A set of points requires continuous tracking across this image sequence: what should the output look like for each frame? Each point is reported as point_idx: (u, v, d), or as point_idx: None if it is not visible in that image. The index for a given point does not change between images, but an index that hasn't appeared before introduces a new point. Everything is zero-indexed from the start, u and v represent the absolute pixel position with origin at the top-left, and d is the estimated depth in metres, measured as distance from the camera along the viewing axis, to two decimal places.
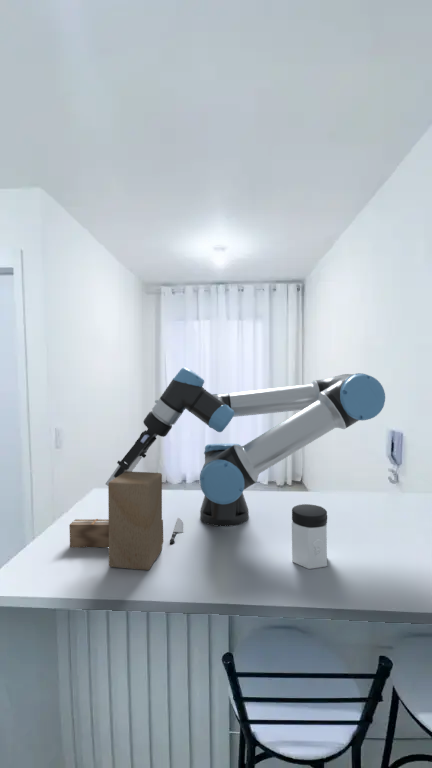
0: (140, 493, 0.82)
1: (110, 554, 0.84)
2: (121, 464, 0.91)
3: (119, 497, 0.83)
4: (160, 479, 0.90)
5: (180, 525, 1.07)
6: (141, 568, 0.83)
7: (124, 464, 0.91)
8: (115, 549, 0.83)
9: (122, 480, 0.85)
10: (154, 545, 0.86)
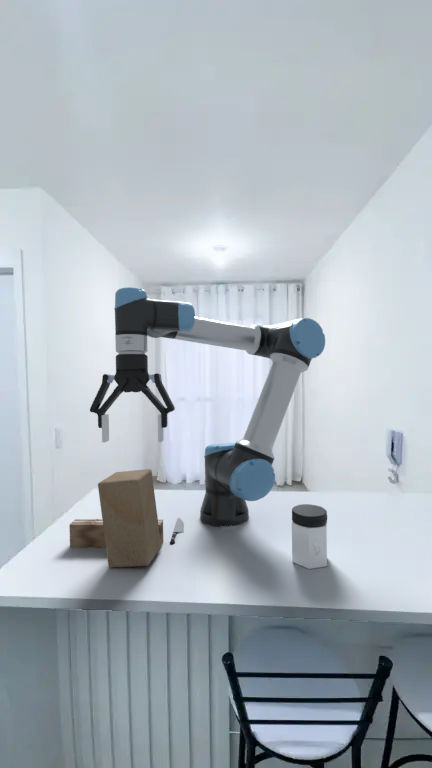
0: (130, 490, 0.82)
1: (108, 555, 0.84)
2: (173, 409, 0.86)
3: (110, 497, 0.83)
4: (150, 475, 0.90)
5: (180, 525, 1.07)
6: (141, 564, 0.83)
7: (173, 407, 0.87)
8: (113, 549, 0.83)
9: (111, 479, 0.85)
10: (151, 540, 0.86)
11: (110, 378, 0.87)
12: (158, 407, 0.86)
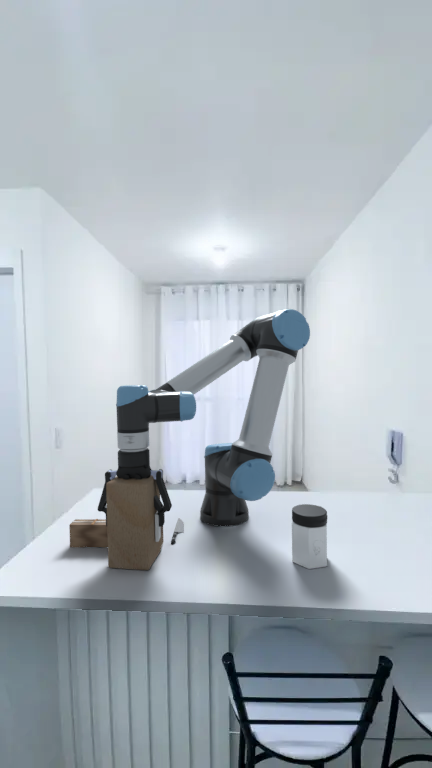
0: (138, 493, 0.82)
1: (109, 555, 0.84)
2: (170, 508, 0.87)
3: (117, 498, 0.83)
4: None
5: (180, 526, 1.07)
6: (141, 568, 0.83)
7: (170, 505, 0.88)
8: (115, 550, 0.83)
9: (120, 480, 0.85)
10: (153, 545, 0.86)
11: (112, 474, 0.88)
12: (156, 506, 0.86)
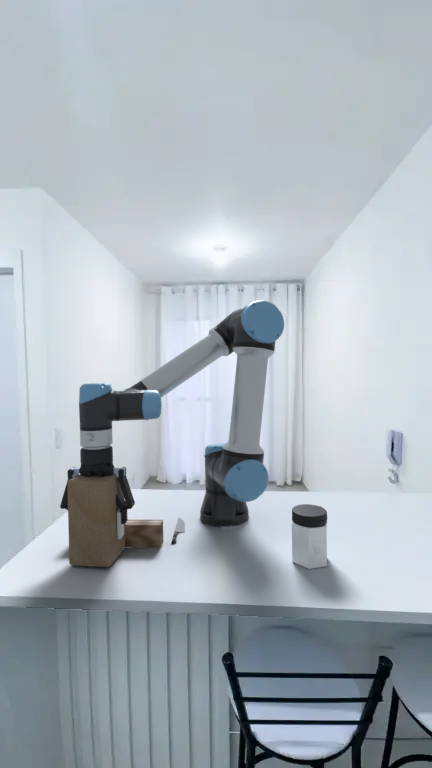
0: (99, 491, 0.83)
1: (70, 552, 0.84)
2: (132, 505, 0.87)
3: (78, 495, 0.83)
4: None
5: (181, 525, 1.07)
6: (101, 565, 0.83)
7: (132, 503, 0.88)
8: (76, 547, 0.84)
9: (82, 478, 0.85)
10: (115, 542, 0.86)
11: (75, 472, 0.88)
12: (118, 503, 0.87)
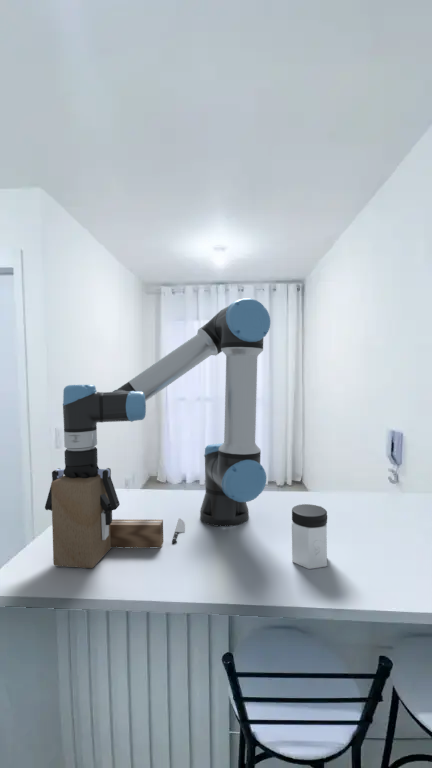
0: (82, 492, 0.83)
1: (54, 553, 0.84)
2: (117, 506, 0.88)
3: (62, 496, 0.84)
4: None
5: (181, 525, 1.07)
6: (85, 566, 0.83)
7: (117, 504, 0.88)
8: (60, 548, 0.84)
9: (66, 479, 0.86)
10: (99, 543, 0.86)
11: (60, 473, 0.88)
12: (102, 505, 0.87)
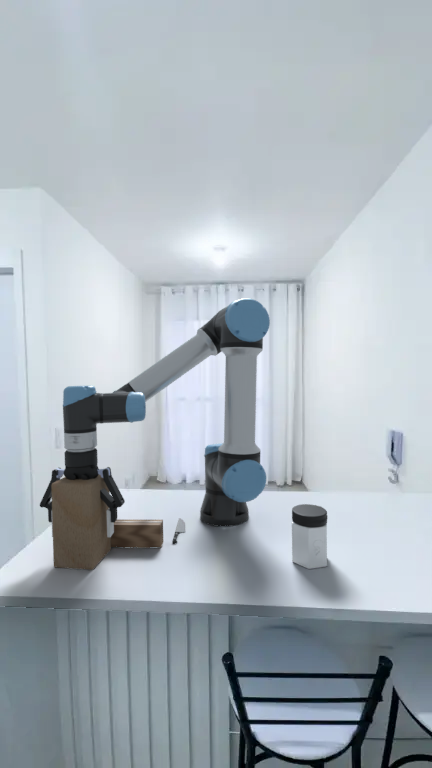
0: (82, 493, 0.83)
1: (54, 555, 0.84)
2: (122, 503, 0.87)
3: (62, 498, 0.84)
4: None
5: (181, 525, 1.07)
6: (85, 568, 0.83)
7: (122, 501, 0.88)
8: (60, 550, 0.84)
9: (66, 480, 0.86)
10: (99, 545, 0.86)
11: (60, 473, 0.88)
12: (107, 502, 0.87)
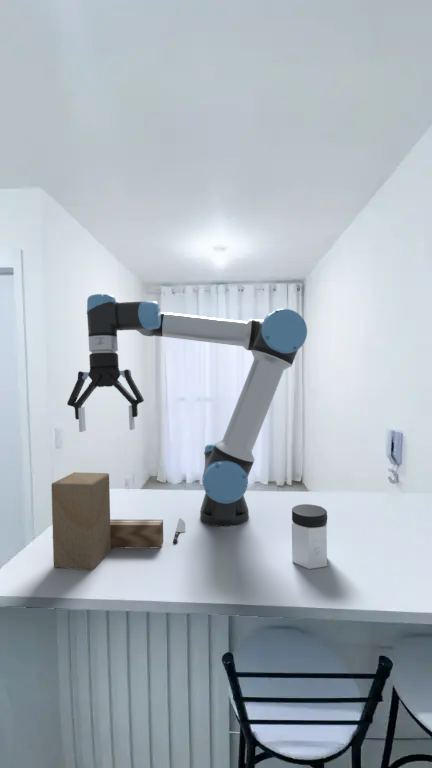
0: (82, 493, 0.83)
1: (54, 555, 0.84)
2: (142, 400, 0.98)
3: (62, 498, 0.84)
4: (107, 479, 0.91)
5: (182, 526, 1.07)
6: (85, 568, 0.83)
7: (142, 398, 0.99)
8: (60, 550, 0.84)
9: (66, 480, 0.86)
10: (99, 545, 0.86)
11: (85, 375, 0.98)
12: (129, 399, 0.98)
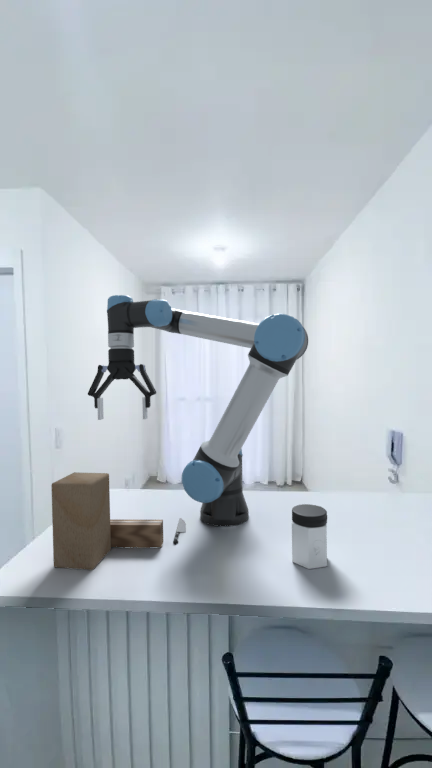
0: (82, 493, 0.83)
1: (54, 555, 0.84)
2: (155, 392, 1.08)
3: (62, 498, 0.84)
4: (107, 479, 0.91)
5: (182, 525, 1.07)
6: (85, 568, 0.83)
7: (154, 391, 1.08)
8: (60, 550, 0.84)
9: (66, 480, 0.86)
10: (99, 545, 0.86)
11: (104, 368, 1.08)
12: (142, 391, 1.07)
